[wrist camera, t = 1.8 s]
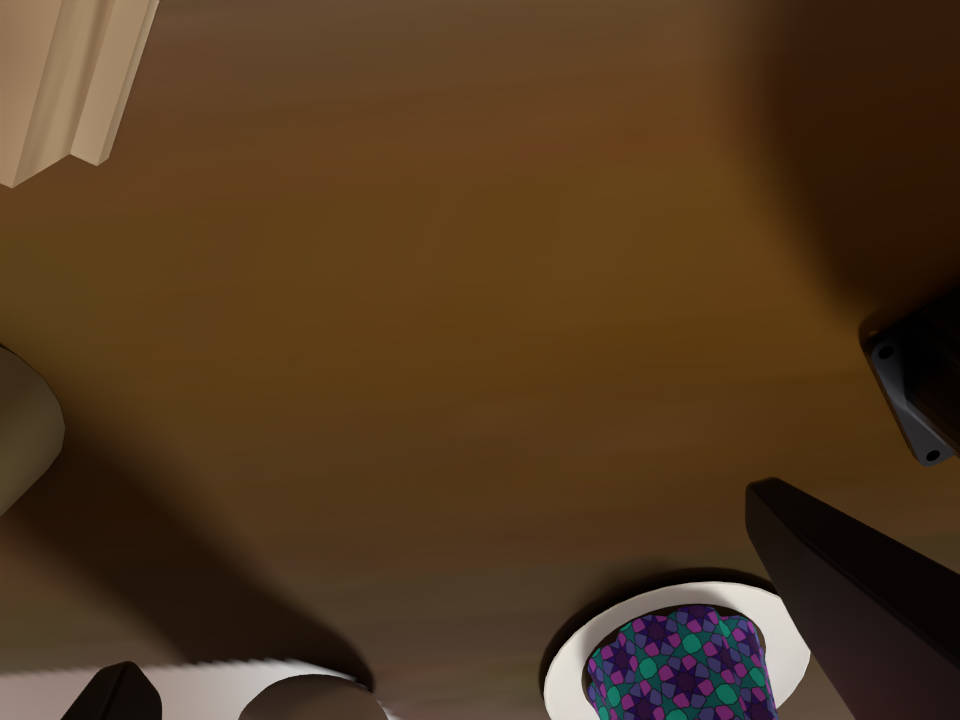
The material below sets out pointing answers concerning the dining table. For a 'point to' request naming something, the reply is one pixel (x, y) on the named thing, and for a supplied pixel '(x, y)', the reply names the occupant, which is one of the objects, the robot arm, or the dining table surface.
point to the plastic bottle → (314, 700)
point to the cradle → (65, 79)
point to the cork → (25, 428)
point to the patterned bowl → (681, 659)
